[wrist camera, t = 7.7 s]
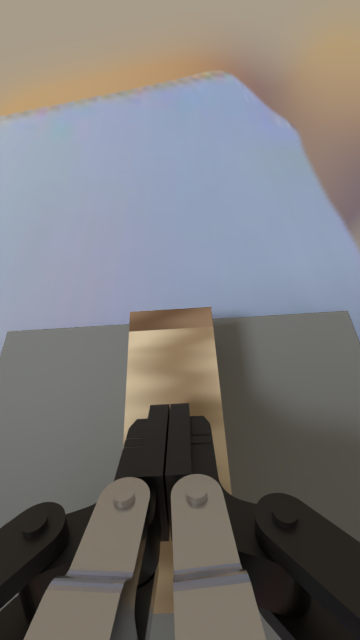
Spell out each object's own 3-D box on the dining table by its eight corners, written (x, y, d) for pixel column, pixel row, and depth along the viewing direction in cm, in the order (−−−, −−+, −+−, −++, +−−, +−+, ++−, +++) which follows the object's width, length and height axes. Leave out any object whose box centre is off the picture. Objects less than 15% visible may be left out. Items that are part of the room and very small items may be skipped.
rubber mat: (-146, 894, 10) (-159, 909, 10) (10, 334, 21) (7, 331, 21) (561, 888, 9) (574, 903, 9) (344, 313, 20) (347, 310, 20)
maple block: (113, 615, 10) (130, 311, 16) (137, 577, 14) (143, 345, 20) (244, 610, 10) (210, 307, 16) (231, 574, 13) (208, 341, 19)
